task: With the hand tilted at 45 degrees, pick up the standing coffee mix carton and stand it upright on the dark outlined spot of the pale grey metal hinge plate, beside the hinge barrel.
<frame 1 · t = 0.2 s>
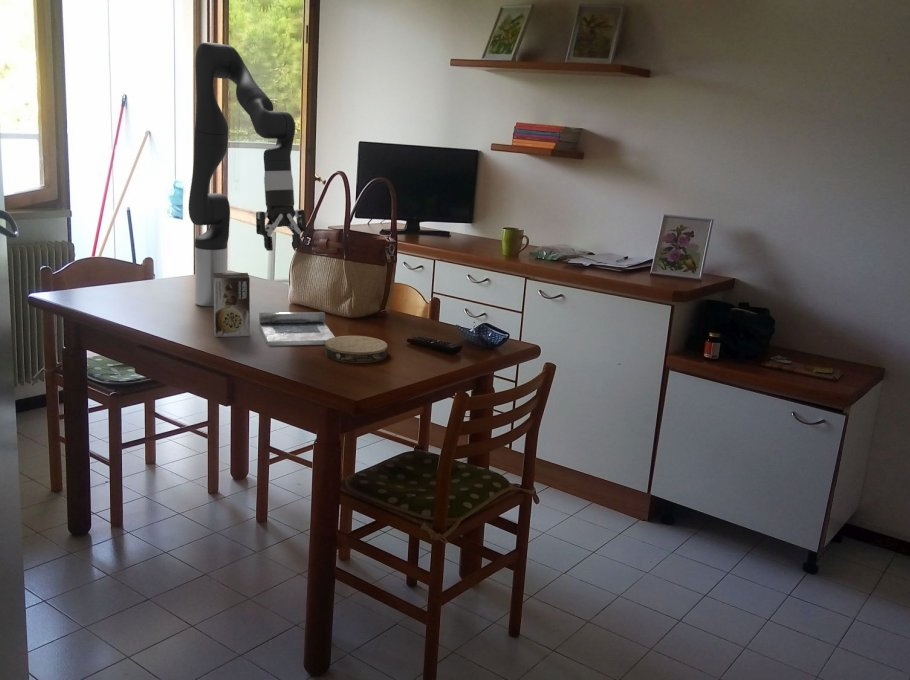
hand: (283, 249, 226), 22 cm above the table, tool pointing down, fingers open, 8 cm apart
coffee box: (231, 334, 223), on the table
beige tambourine: (355, 355, 214), on the table
hinge plate: (296, 335, 227), on the table
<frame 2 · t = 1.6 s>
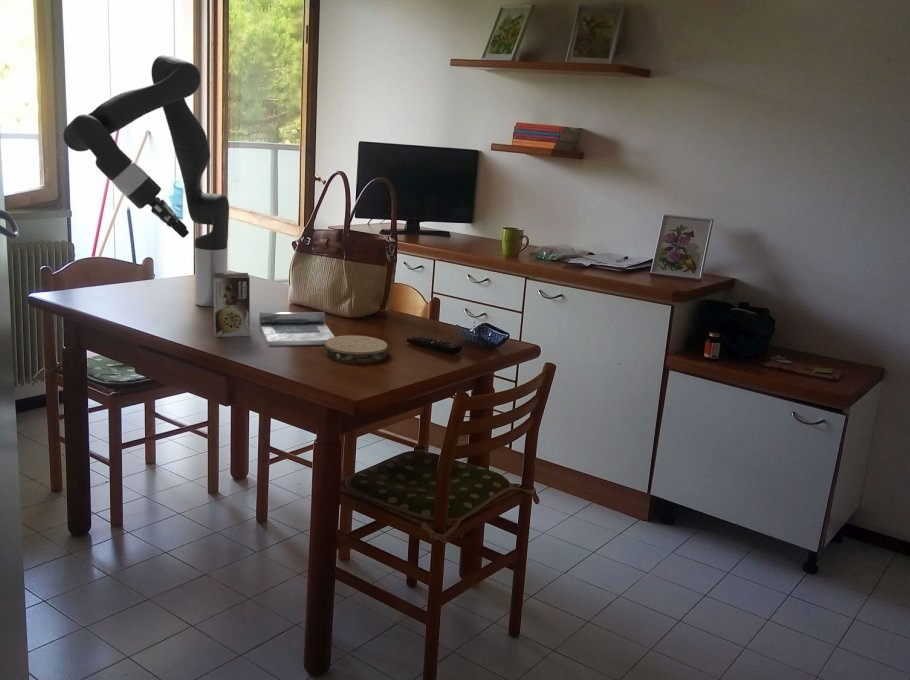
hand: (185, 232, 212), 27 cm above the table, tool tilted 45°, fingers open, 8 cm apart
nothing on the table moved.
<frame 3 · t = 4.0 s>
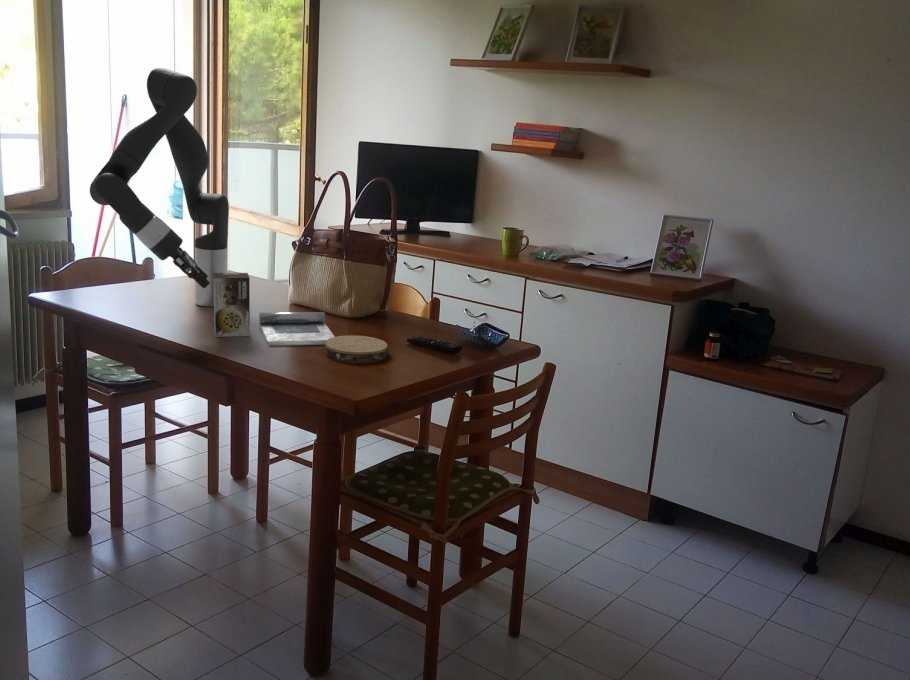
hand: (206, 282, 217), 14 cm above the table, tool tilted 45°, fingers open, 8 cm apart
nothing on the table moved.
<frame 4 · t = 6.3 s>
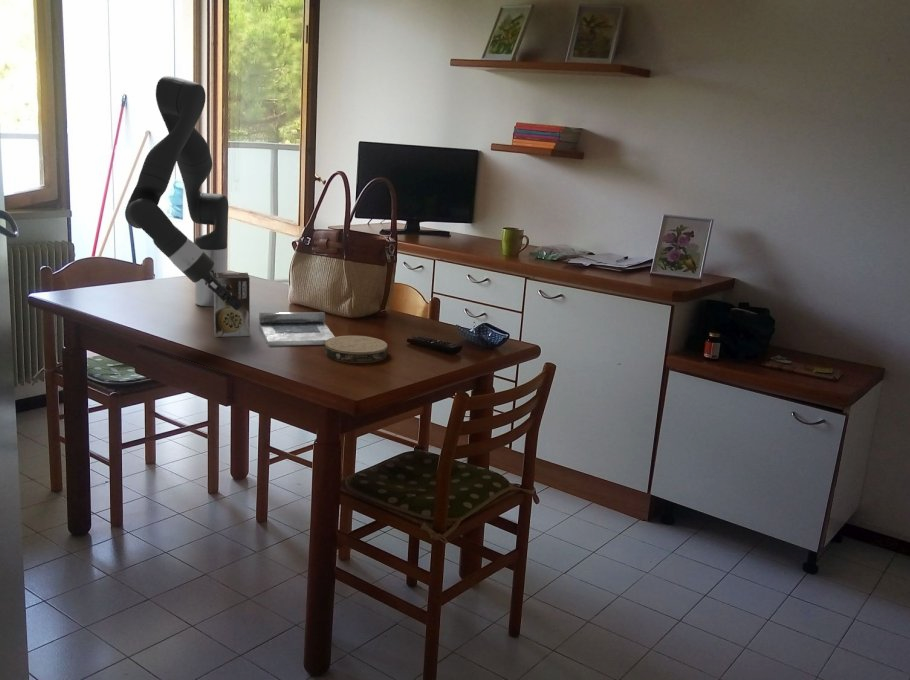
hand: (238, 304, 222), 8 cm above the table, tool tilted 45°, fingers closed on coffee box, 6 cm apart
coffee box: (231, 334, 223), on the table, touching gripper
everything else where it was.
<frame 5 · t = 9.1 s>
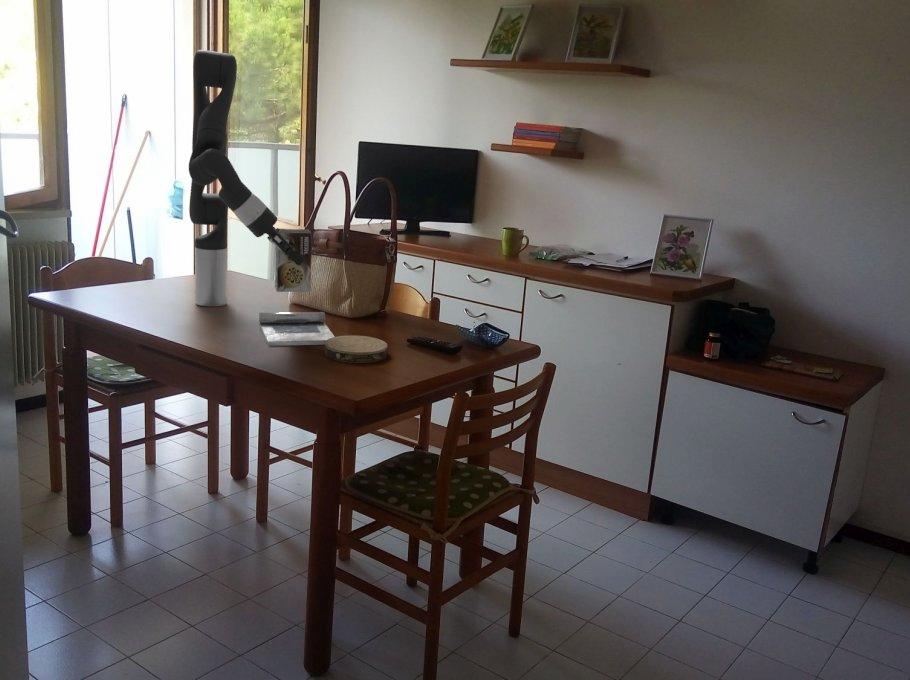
hand: (299, 260, 224), 20 cm above the table, tool tilted 45°, fingers closed on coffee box, 6 cm apart
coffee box: (292, 290, 225), point 12 cm above the table, touching gripper
everything else where it was.
when the fingers open (11 cm above the table, at t = 12.1 s): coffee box drops 1 cm, resting on hinge plate.
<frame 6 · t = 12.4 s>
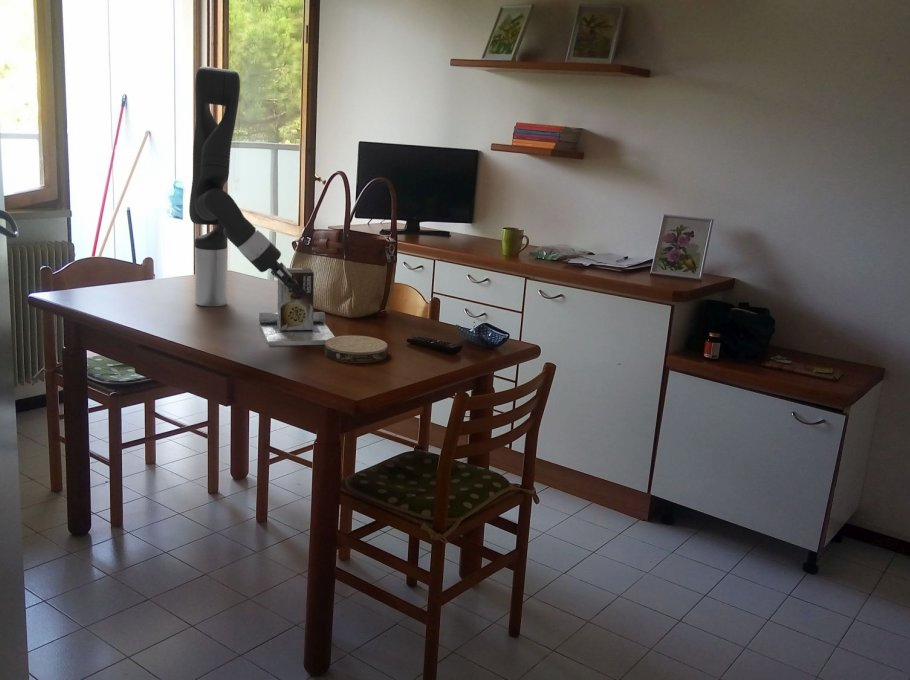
hand: (301, 292, 226), 11 cm above the table, tool tilted 45°, fingers open, 8 cm apart
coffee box: (294, 328, 229), point 1 cm above the table, touching hinge plate
everything else where it was.
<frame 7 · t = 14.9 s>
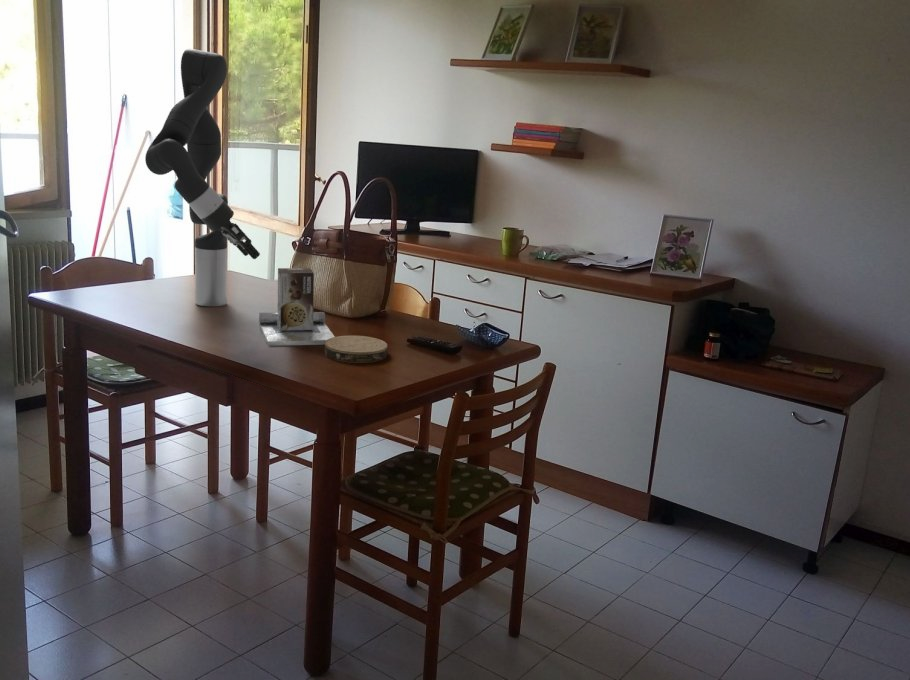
hand: (252, 255, 221), 21 cm above the table, tool tilted 40°, fingers open, 8 cm apart
nothing on the table moved.
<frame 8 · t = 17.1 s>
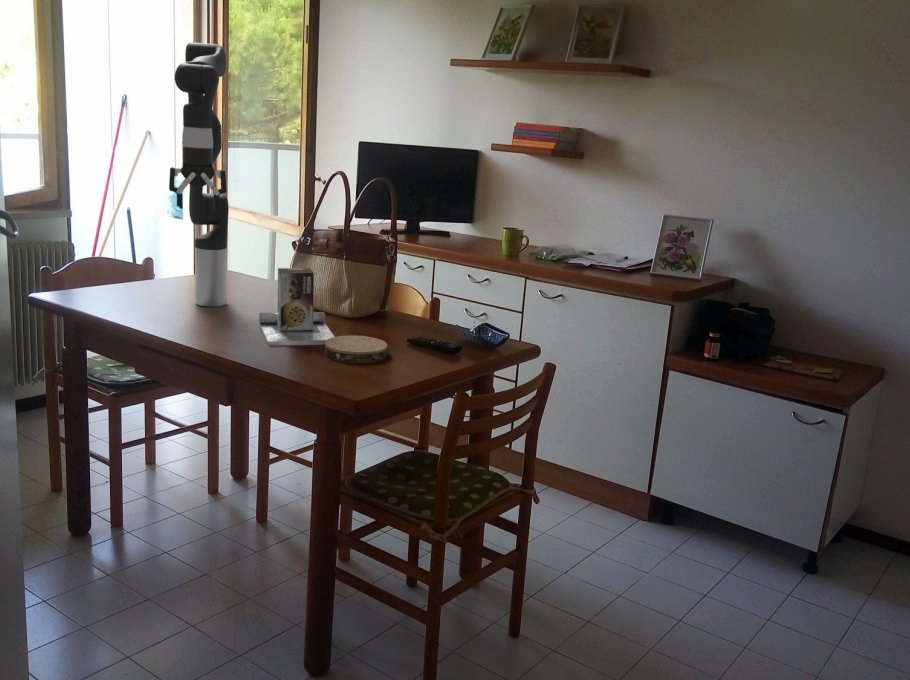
hand: (198, 208, 219), 32 cm above the table, tool pointing down, fingers open, 8 cm apart
nothing on the table moved.
at the end: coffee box inside the target area (0.2 cm from its centre), point 1.2 cm above the table; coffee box tilted 0°; the gripper is holding nothing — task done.
